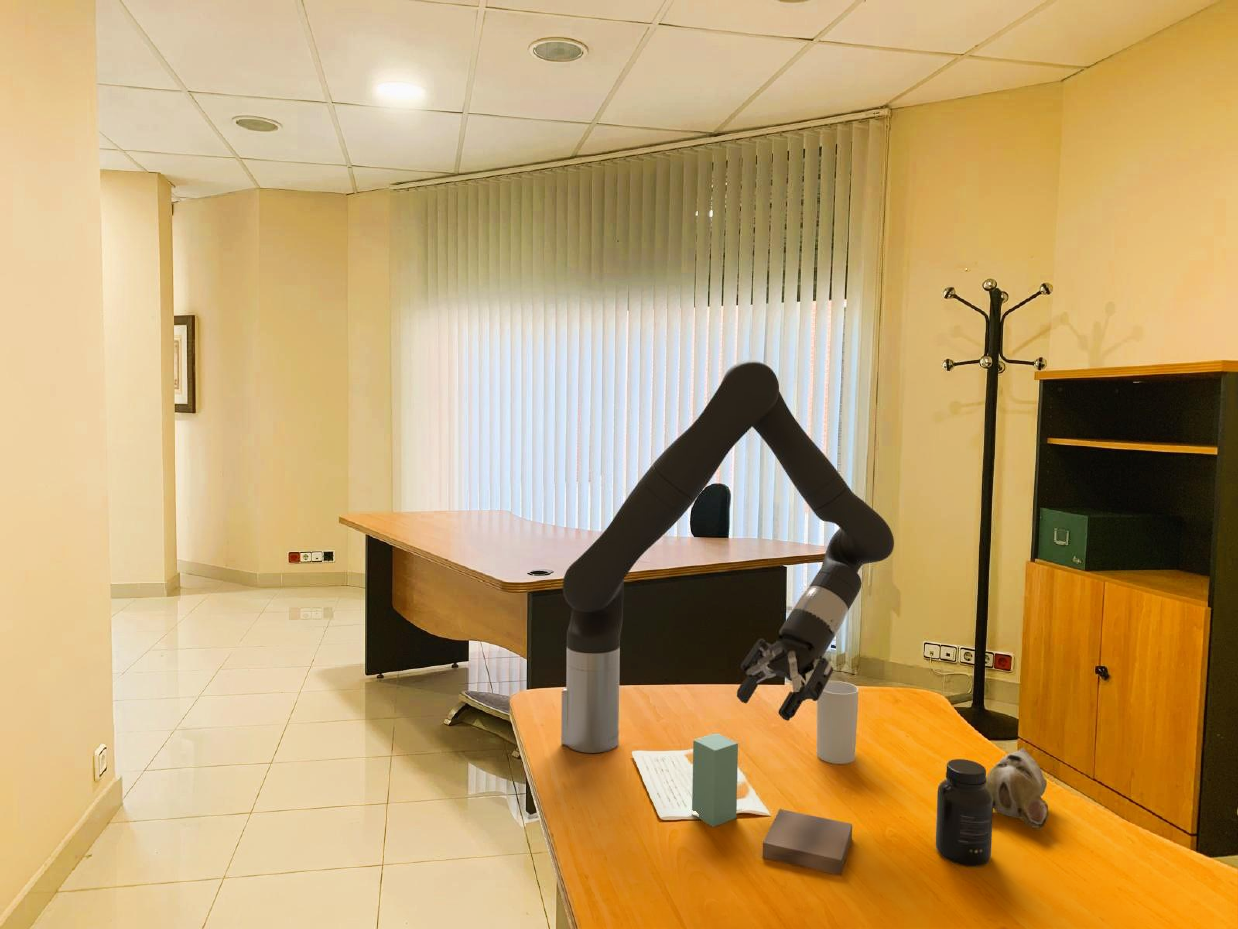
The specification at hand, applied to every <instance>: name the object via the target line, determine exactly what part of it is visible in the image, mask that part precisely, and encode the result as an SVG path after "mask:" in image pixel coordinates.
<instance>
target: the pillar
mask: <svg viewBox="0 0 1238 929" xmlns="http://www.w3.org/2000/svg"><path fill="white" fill-rule="evenodd" d="M692 741H693V742H692V743H693V746H692V786H691V787H692V788H691V789H692V790H691V792H692V793H691V795H692V796H691V811H692V810H693V811H696V812H697V813H698V814H699V818H698V819H699V820H701V821H702V822H704V823H706V824H708V825H709V826H711V827H712V828H714V827H717V826H720V825H723V824H724V823H727V822H729V821H732V820H735V819H737V805H738V768H739V767H738V766H739V765H738V764H739V762H738V760H739V759H738V758H739V743H738V742H737V741H735V740H732V739H731V738H728V737H726V736H724V735H721V734H719V733H717V732H716V733H712V734H708V735H705V736H702V737H699V738H695V739H693V740H692Z"/></svg>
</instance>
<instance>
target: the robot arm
mask: <svg viewBox="0 0 1238 929" xmlns="http://www.w3.org/2000/svg"><path fill="white" fill-rule="evenodd" d="M781 393H782V392H781V391H780V383H779V379H778V377H777V375H776V373H775V372H774V370H773V369H772V368H771V367H770V366H768V365H767V364H765V363H763V362H760V361H758V360H744V361H743V360H742V361H740V362H737V363H736V364H734V365H733V366H731V367H730V368H729V369H728V370H727V371H726V372H725V374H724V377H723V379H722V381H721V382H720V385H719V386H718V388H717V390H716V391H715V392H714V394H713V396H712V397H711V398H710V400H709V402H708V403H707V405H706V406H705V407H704V408H703V411H702V412H701V413H700V415H699V416H698V417H697V418H696V420H695V421H694V422H693V423H692V424H691V425H690V426H689V427H688V429H686V430H685V431H684V432H682V434H681V435H680V436H678V437H677V438H676V439H675V440H674V441H673V442H672V443H671V444H670V445H669V446H667V448H666V449H665V450H664V451H663V452H662V453H661V455H659V457H658V458H656V460H655V461H654V462H653V463H652V465H651V466H650V467H649V469H648V470H646V472H645V474H644V475H643V476H642V477H641V478H640V479H639V481H638V483H637V484H636V485H635V487H634V488H633V490H631V492H630V493H629V495H628V496H627V497H626V499H625V500H624V502H623V503H622V504H621V507H620V508H619V509H618V511H617V512H616V514H615V516H614V517H613V518H612V520H611V522H610V524H608V526H607V527H606V529H605V530H604V531H603V532H602V533H601V535H600V536H599V537H598V538H597V539H596V540H595V541H594V542H593V543H592V545H590V547H589V548H588V549H586V551H584V552H583V553H582V555H580V556H579V557H578V558H577V559H576V560H575V561H574V562H572V563H571V565H569V567H568V568H567V570H566V572H564V576H563V580H562V593H563V596H564V599H565V601H566V603H567V604H568V605H569V606H570V607H571V616H570V621H569V625H568V628H567V631H566V681H565V682H566V687H564V688H563V689H562V691H561V726H560V731H561V736H560V737H561V740H560V743H561V745H565V746H566V747H568V748H569V749H572V750H573V751H576V752H582V753H588V754H593V753H594V754H595V753H604V752H605V753H606V752H608V751H610V750H614V749H615V748H616V747H617V746H618V745H619V741H620V739H619V737H620V736H619V735H620V728H619V724H620V654H621V652H620V648H621V647H620V645H621V642H620V641H621V633H622V627H623V619H624V618H623V617H624V591H625V588H624V586H625V582H624V579H625V578H626V577H627V575H628V574H629V572H630V571H631V569H632V568H633V567H634V565H635V564H636V563H637V562H638V560H639V559H640V558H641V557H642V556H643V555H644V554H645V553H646V552H647V551H648V550H649V549H650V548H651V547H652V546H653V545H655V543H656V542H658V541H659V540H660V539H661V538H662V537H663V536H665V534H666V533H667V532H668V531H669V530H671V528H672V527H673V526H674V525H675V524H676V523H677V522H678V521H679V520H680V519H681V518H682V516H683V515H685V513H686V511H687V510H689V508H690V507H691V506H692V505H693V503H694V502H695V501H696V500H697V499H698V497H699V495H700V494H701V493H702V492H703V491H704V489H705V488H706V486H707V485H708V484H709V482H710V481H711V480H712V478H713V477H714V475H715V474H716V472H717V470H718V469H719V467H720V466H721V464H722V463H723V461H724V460H725V458H726V456H727V455H728V454H729V453H730V451H731V450H732V448H733V447H734V446H735V445H736V444H737V443H738V442H739V441H740V440H741V439H742V437H743V436H745V435H746V433H748V432H749V430H751V428H753V429H754V431H755V432H756V433H757V434H758V435H759V436H760V437H761V439H763V441H764V442H765V443H766V444H767V447H768V448H769V449H771V452H772V453H773V454H774V456H775V458H776V459H777V461H778V462H779V464H780V466H781V467H782V468H783V470H784V472H785V474H786V475H787V476H788V478H789V480H790V481H791V483H792V484H793V485H794V488H796V490H797V492H798V493H799V494H800V495H801V497H802V498H803V500H804V501H805V502H806V504H807V505H808V507H809V508H810V509H811V510H812V512H813V513H814V515H816V517H817V518H818V519H819V520H820V521H823V522H826V523H827V522H828V523H832V524H835V525H837V526H838V527H839V528H838V529H837V530H836V532H835V533H834V534H833V536H832V537H831V538H830V540H829V543H828V545H827V548H826V551H825V554H824V556H823V561H822V563H821V567H820V569H819V570H818V572H817V573H816V574H815V577H814V578H813V579H812V581H811V582H810V585H809V586H808V588H807V589H806V590H805V591H804V592H803V594H802V595H801V596H800V597H799V599H798V600H797V602H796V603H795V605H794V607H793V609H792V610H791V612H790V613H789V615H788V616H787V618H786V619H785V621H784V623H783V624H782V626H781V628H780V629H779V631H778V632H779V633H778V638H777V640H776V642H775V643H773V644H771V643H769V642H766V640H765V639H764V638H759V639H757V641H756V642H755V643H754V645H753V647H752V648H751V649H750V651H748V652H749V653H748V654H747V655H746V657H745V658H744V659H743V661H742V662H741V664H740V668H741V670H742V671H743V673H745V677H744V679H743V680H742V682H741V684H740V685H739V687H738V689H737V691H736V697H737V699H739V701H740V702H741V703H743V704H747V703H748V702H749V701H750V699H751V697H752V695H753V694H754V693H755V691H756V689H758V686H759V684H758V683H760V682H761V683H762V682H763V681H764V680H766V679H772V678H774V677H776V676H777V677H778V678H785V679H787V680H788V681H790V682H791V683H792V691H789V693H788V694H787V696H786V697H785V699H784V701H783V703H782V704H781V706H780V707H779V709H778V711H777V712H778V715H779V716H780V717H781V719H782V720H784V721H787V722H789V721H790V720H791V719H793V717H794V716H795V715H796V713H797V712H798V710H799V708H800V707H801V706H802V703H803V702H805V701H807V700H812V701H813V702H817V700H818V699H819V697H820V696H821V694H822V692H823V690H824V688H825V686H826V684H827V682H828V681H830V678H831V676H832V674H833V671H834V668H833V666H832V664H830V662H829V661H828V660H827V658H825V657H824V656H825V654H826V652H827V650H828V649H829V647H830V645H831V643H832V642H833V641H834V639H835V637H836V635H837V633H838V632H839V630H840V629H841V627H842V625H843V623H844V621H845V619H846V615H847V614H848V612H849V610H850V608H851V606H852V605H853V603H854V602H855V600H856V598H857V596H859V595H858V594H859V593H860V591H861V588H862V578H861V576H860V574H859V573H858V572H859V570H860V569H861V568H862V566H863V565H866V564H872V563H873V564H874V563H878V562H881V561H884V560H886V559H888V558H889V557H890V556H891V555H892V552H893V551H894V547H895V546H894V545H895V539H894V536H893V535H894V534H893V532H892V530H891V528H890V525H889V524H888V523H887V522H886V520H885V519H884V518H883V517H882V516H881V515H880V514H879V513H878V512H877V511H875V510H874V509H873V508H872V507H871V506H870V505H869V504H867V503H866V502H865V501H864V500H862V498H860V497H859V496H857V495H856V494H855V493H854V492H853V491H852V489H851V488H850V487H849V485H848V484H847V482H846V481H845V479H844V478H843V477H842V476H841V474H840V473H839V471H838V470H837V469H836V468H835V466H834V465H833V464H832V462H831V461H830V460H829V459H828V457H827V456H826V455H825V454H824V452H822V450H821V449H820V448H819V447H818V445H817V444H816V443H815V442H814V441H813V440H812V439H811V437H809V435H808V433H806V432H805V430H804V429H803V427H802V426H801V425H800V424H799V422H798V421H797V419H796V417H795V416H794V415H793V413H792V412H791V410H790V409H789V407H788V405H787V403H786V401H785V399H784V397H783V395H782V394H781ZM768 665H769V667H770V668H769V667H768ZM812 671H813V672H812ZM810 672H811V675H810V677H809V679H808V674H809V673H810Z"/></svg>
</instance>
